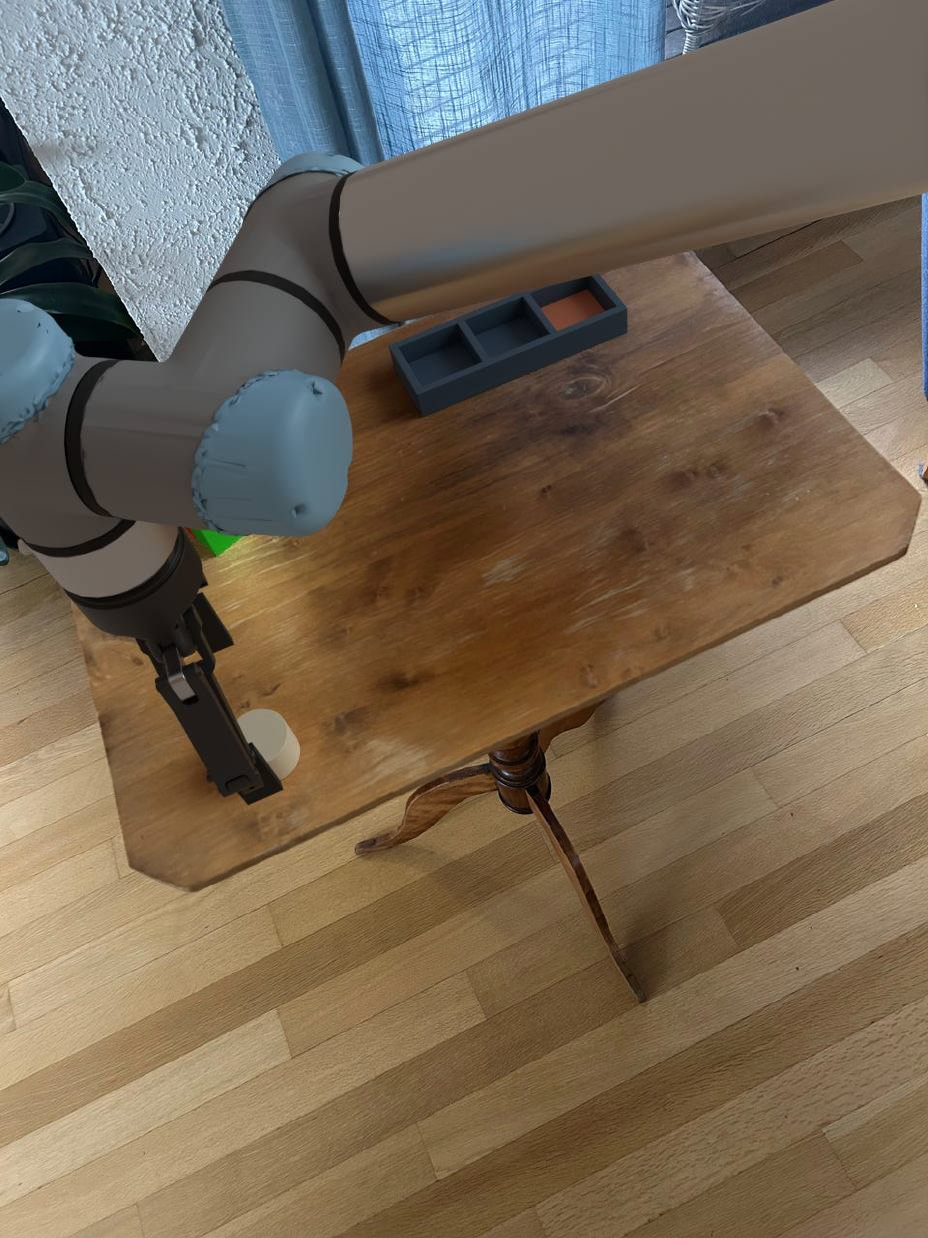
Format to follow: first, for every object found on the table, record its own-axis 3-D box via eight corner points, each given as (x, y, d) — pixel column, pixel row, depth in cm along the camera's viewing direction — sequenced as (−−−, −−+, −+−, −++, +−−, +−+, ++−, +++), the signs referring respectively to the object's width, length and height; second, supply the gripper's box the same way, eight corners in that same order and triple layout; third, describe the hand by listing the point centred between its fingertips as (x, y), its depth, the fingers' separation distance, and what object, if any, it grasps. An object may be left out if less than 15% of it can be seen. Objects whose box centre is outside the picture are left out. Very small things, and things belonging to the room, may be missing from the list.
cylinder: (308, 768, 79) (295, 749, 76) (249, 794, 78) (234, 777, 76) (290, 718, 82) (277, 698, 79) (233, 743, 81) (218, 724, 78)
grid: (627, 332, 100) (627, 307, 98) (422, 417, 98) (416, 394, 95) (591, 287, 105) (590, 262, 102) (394, 367, 102) (388, 344, 100)
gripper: (24, 433, 63) (156, 613, 81) (95, 755, 50) (235, 886, 67) (135, 389, 64) (242, 577, 82) (235, 694, 50) (338, 840, 68)
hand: (239, 717), depth 74 cm, fingers open, 13 cm apart
